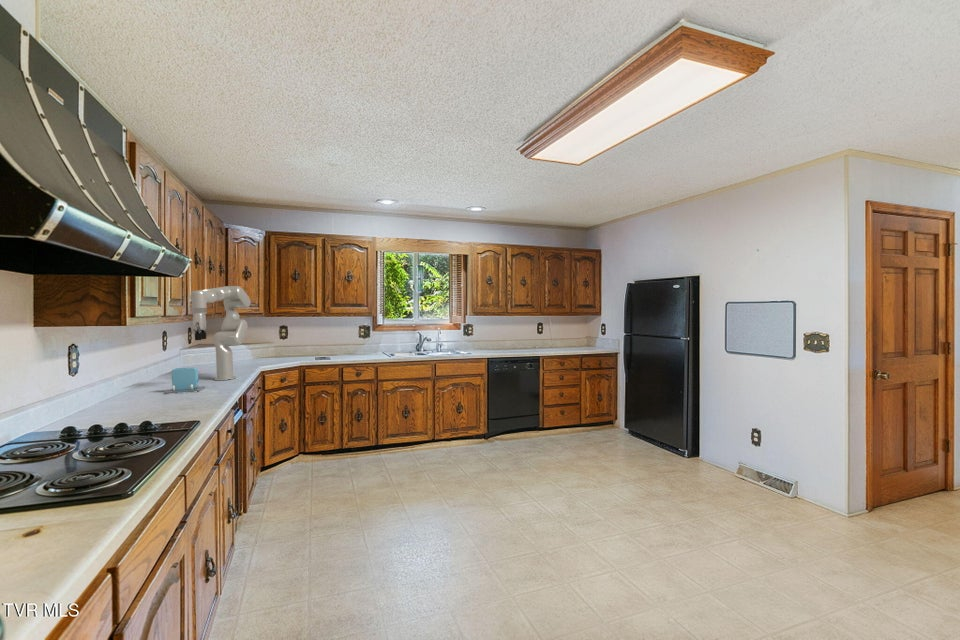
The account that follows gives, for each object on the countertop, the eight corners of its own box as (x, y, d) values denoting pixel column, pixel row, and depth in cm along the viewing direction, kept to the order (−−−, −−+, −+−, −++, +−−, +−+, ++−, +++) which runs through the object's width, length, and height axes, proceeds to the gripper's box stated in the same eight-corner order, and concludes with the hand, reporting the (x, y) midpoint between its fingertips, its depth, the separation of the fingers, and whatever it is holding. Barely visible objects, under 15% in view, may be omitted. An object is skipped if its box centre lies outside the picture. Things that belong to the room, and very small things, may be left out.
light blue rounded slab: (198, 387, 265) (197, 367, 265) (196, 388, 261) (195, 368, 260) (174, 389, 261) (173, 368, 261) (172, 390, 257) (171, 369, 257)
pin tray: (173, 389, 265) (172, 383, 265) (205, 387, 270) (205, 381, 270) (163, 394, 252) (163, 387, 252) (198, 391, 256) (197, 384, 256)
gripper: (197, 311, 282) (198, 339, 282) (187, 311, 265) (188, 340, 265) (210, 311, 284) (212, 338, 284) (202, 311, 267) (203, 340, 267)
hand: (200, 339), depth 275 cm, fingers open, 9 cm apart
